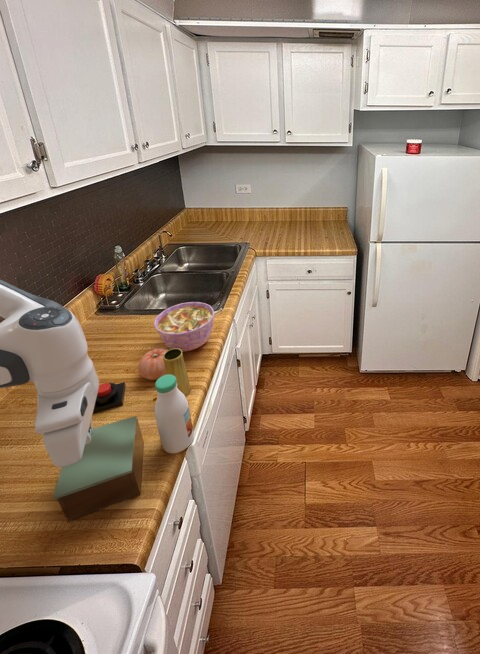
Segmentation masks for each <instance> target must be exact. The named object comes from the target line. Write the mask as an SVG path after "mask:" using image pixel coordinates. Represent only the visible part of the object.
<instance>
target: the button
mask: <svg viewBox="0 0 480 654" xmlns="http://www.w3.org/2000/svg"><path fill="white" fill-rule="evenodd" d="M109 383H110V382H104V383H101V384H99V389H98V393H97V395H98V396H99V397H103V396H106V395H108V394H109V393H110V392H111V391H112V389H111V385H110V384H109Z"/></svg>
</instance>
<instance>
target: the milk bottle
mask: <svg viewBox="0 0 480 654" xmlns="http://www.w3.org/2000/svg"><path fill="white" fill-rule="evenodd" d="M154 387H155V390H156V393H157V398H156V401H155V404H154V418H155V423H156V427H157V432H158V435H159V439H160V443H161V447H162V449H163V450H164V451H165V452H166V453H169V454H178V453H181V452H183V451H185V450H186V449H188V447H189V446H190V445H191V444H192V442H193V440H194V437H195V433H194V426H193V421H192V415H191V411H190V406H189V403H188V399H187V396H184V394H183V393H182V392H181V391H180V390H179V389H178V388H177V380H176V377H175V376H174V375H164V376H162V377H160V378H159V379H156V381H155V383H154Z"/></svg>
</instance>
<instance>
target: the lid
mask: <svg viewBox="0 0 480 654" xmlns="http://www.w3.org/2000/svg"><path fill="white" fill-rule="evenodd" d="M137 419H138V416H137V415H133V416H130V417H127V418H123V419H121V420H117V421H114V422H110V423H107V424H103V425H99V426H96V427H93V433H92V438H91V442H90V443H88V444H85V447H84V451H83V455H82V459H81V460H80V461H79V462H76V463H73V464H71V465H67V466H64V467H60V468H61V469H60V471H59V475H58V479H57V483H56V485H55V489H54V492H53V496H52V500H54V501H55V500H57V499H58V498H61V497H63V496H66V495H69V494H72V493H75V492H78V491H81V490H83V489H86V488H89V487H92V486H95V485H98V484H100V483H103V482H106V481H109V480H112V479H115V478H118V477H120V476H123V475H126V474H129V473H132V466H133V456H134V445H135V434H136V423H137Z"/></svg>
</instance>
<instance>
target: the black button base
mask: <svg viewBox="0 0 480 654" xmlns="http://www.w3.org/2000/svg"><path fill="white" fill-rule="evenodd" d="M108 383H109V384H110V385H111V389H112V391H111V392H110V393H109V394H108V395H106V396H103V397H99V396H98V395H97V398H96V402H95V406H94V410H93V414H92V415H94V414H98V413H101V412H104V411H108V410H111V409H115V408H119V407H123V406H124V401H125V393H126V386H127V385H126V382H125V381H123V382H119V383H115V382H108Z"/></svg>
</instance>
